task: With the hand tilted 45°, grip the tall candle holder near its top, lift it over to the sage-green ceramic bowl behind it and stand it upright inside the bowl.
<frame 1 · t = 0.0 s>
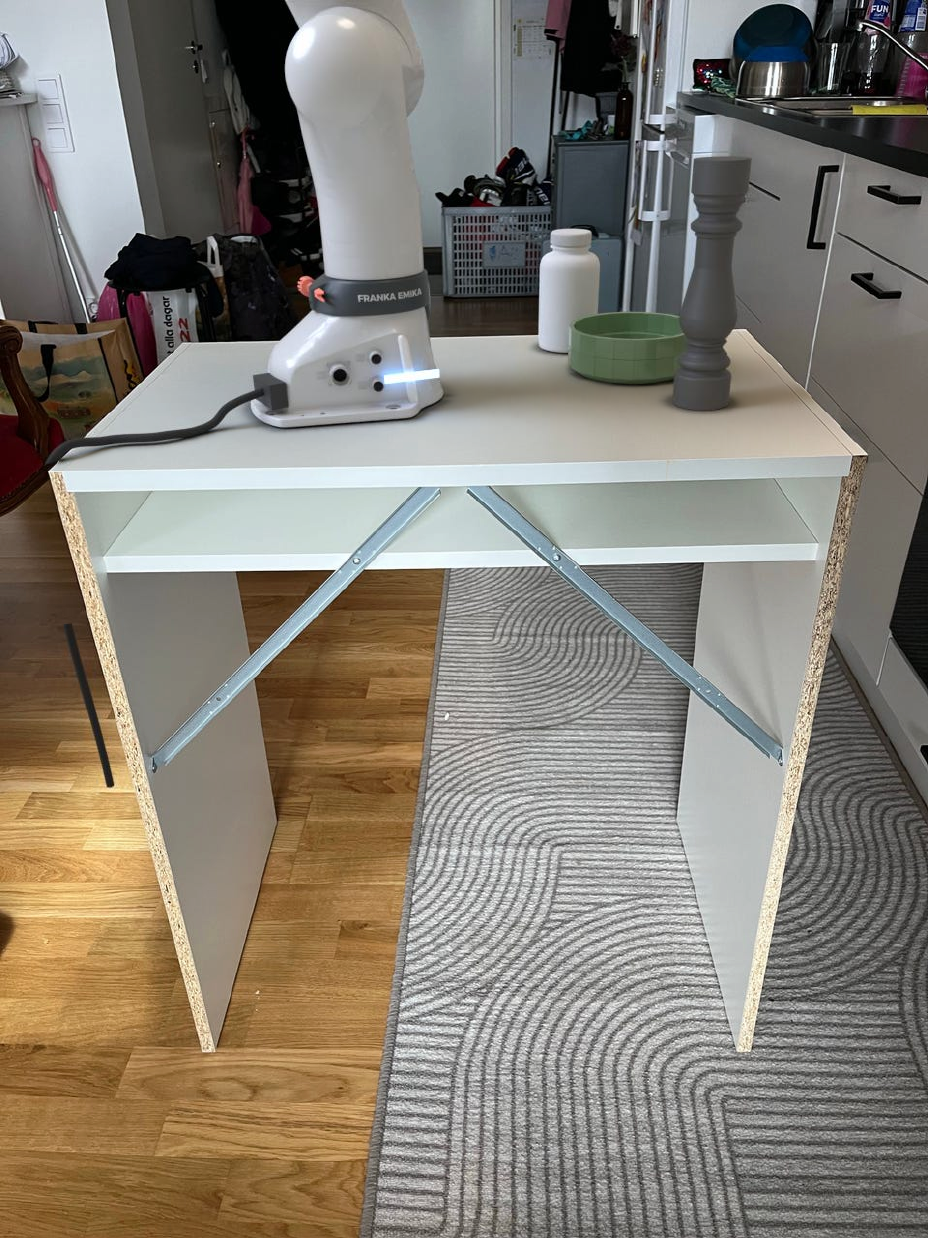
pill bottle: (567, 348, 134), on the table
bowl: (630, 369, 123), on the table
candle holder: (700, 404, 110), on the table
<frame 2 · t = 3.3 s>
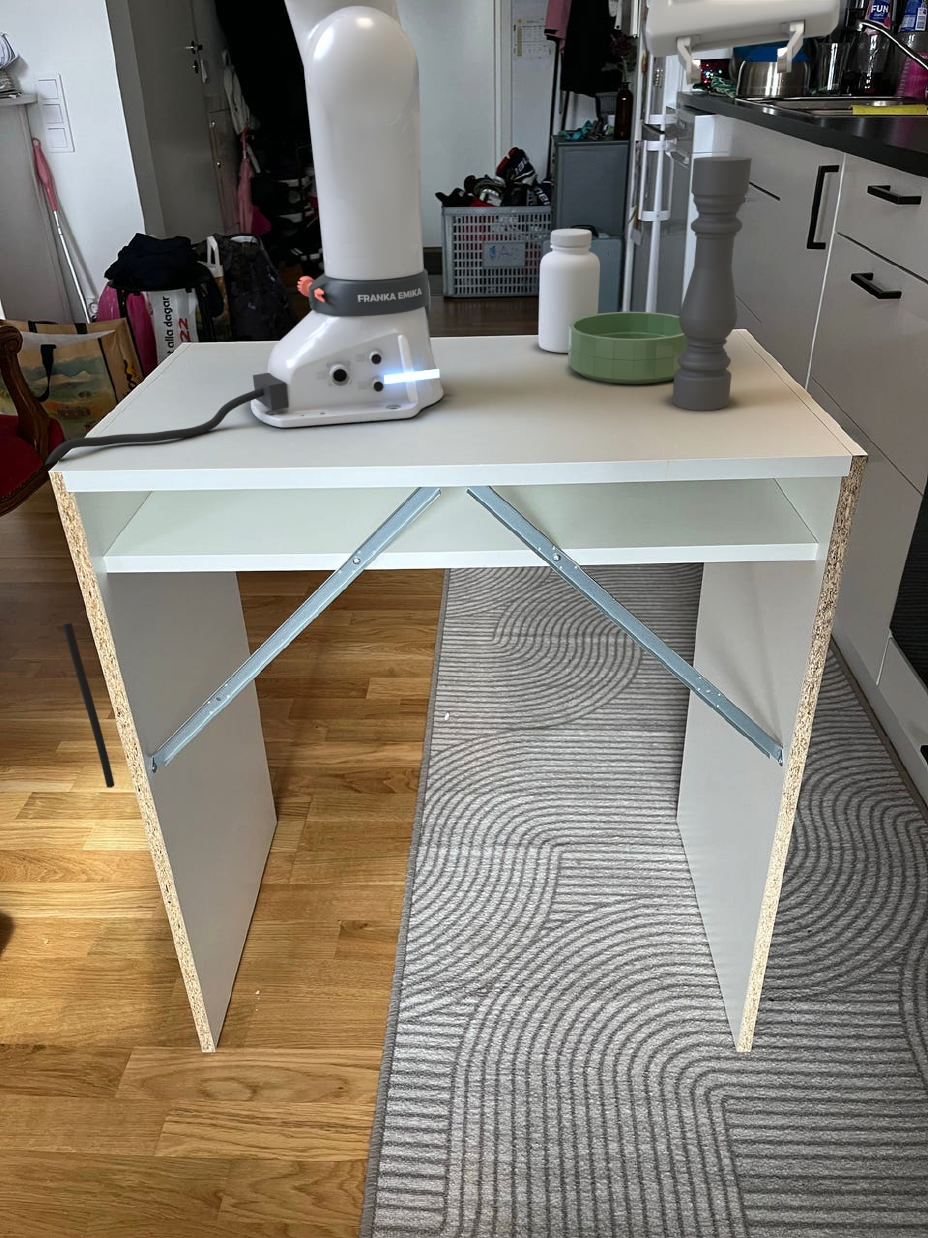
hand: (738, 74, 105), 32 cm above the table, tool tilted 40°, fingers open, 8 cm apart
nothing on the table moved.
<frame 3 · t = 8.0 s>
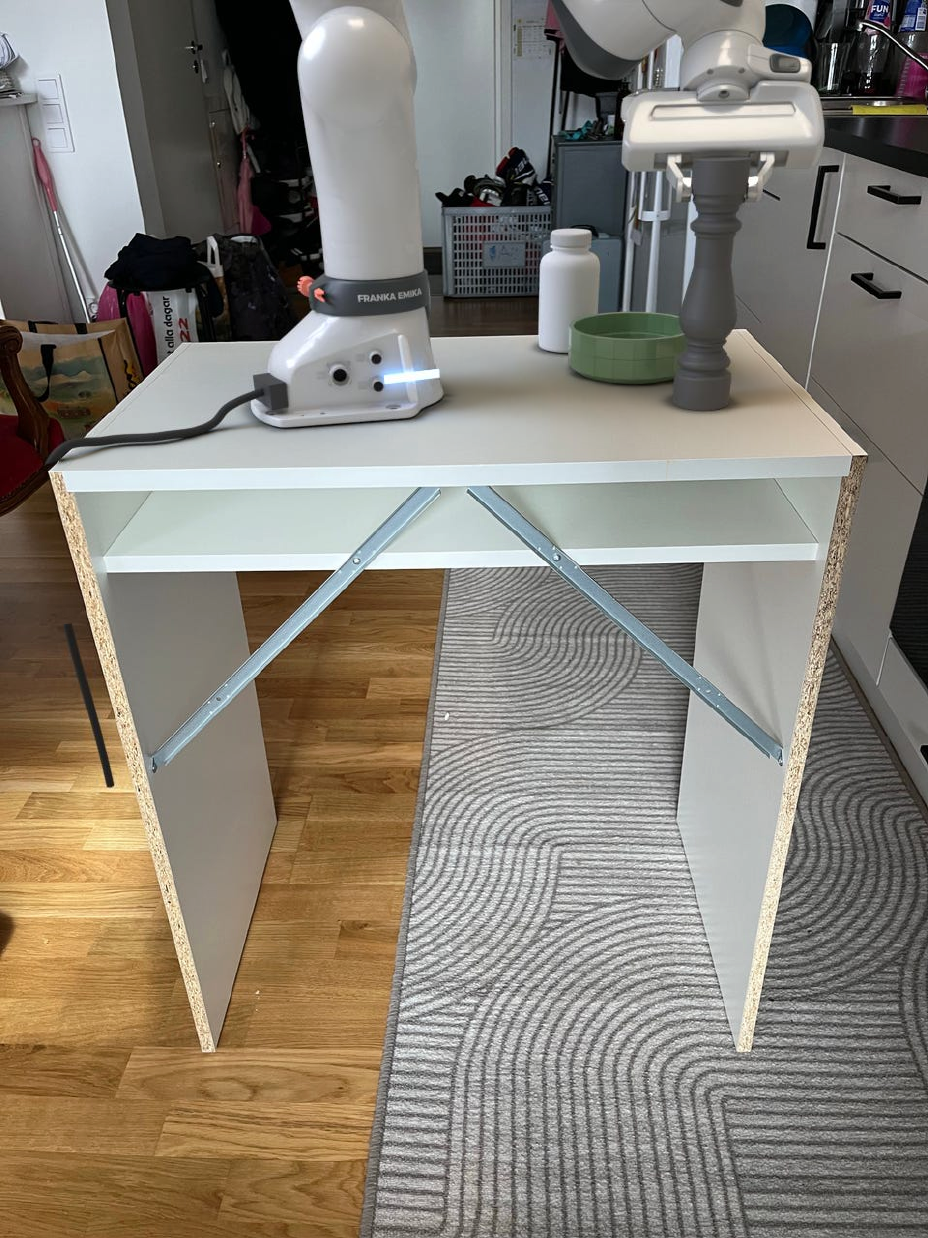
hand: (719, 197, 99), 21 cm above the table, tool tilted 45°, fingers closed on candle holder, 5 cm apart
candle holder: (700, 404, 110), on the table, touching gripper
everything else where it was.
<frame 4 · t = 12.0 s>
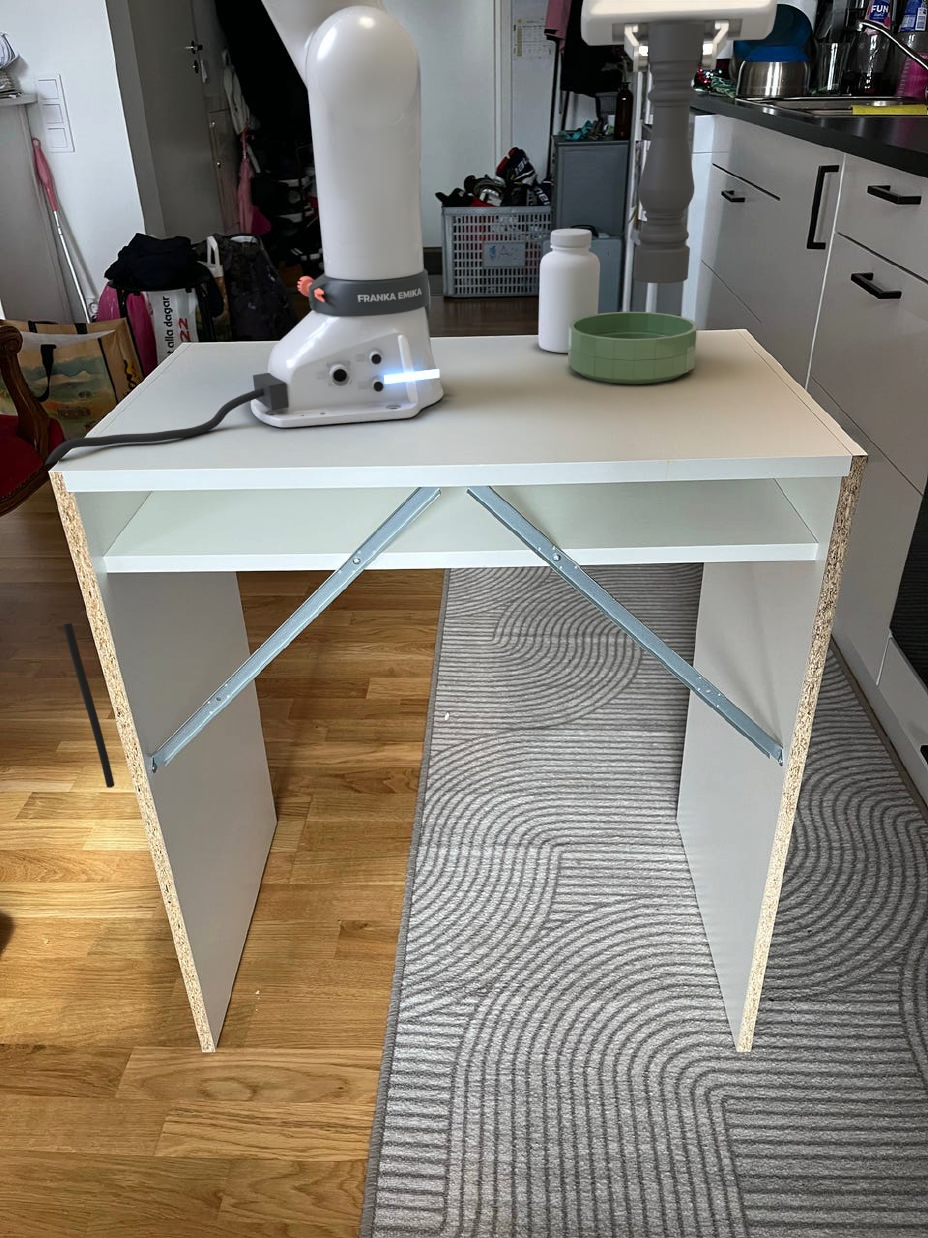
hand: (674, 65, 102), 33 cm above the table, tool tilted 45°, fingers closed on candle holder, 5 cm apart
candle holder: (660, 280, 113), point 12 cm above the table, touching gripper
everything else where it was.
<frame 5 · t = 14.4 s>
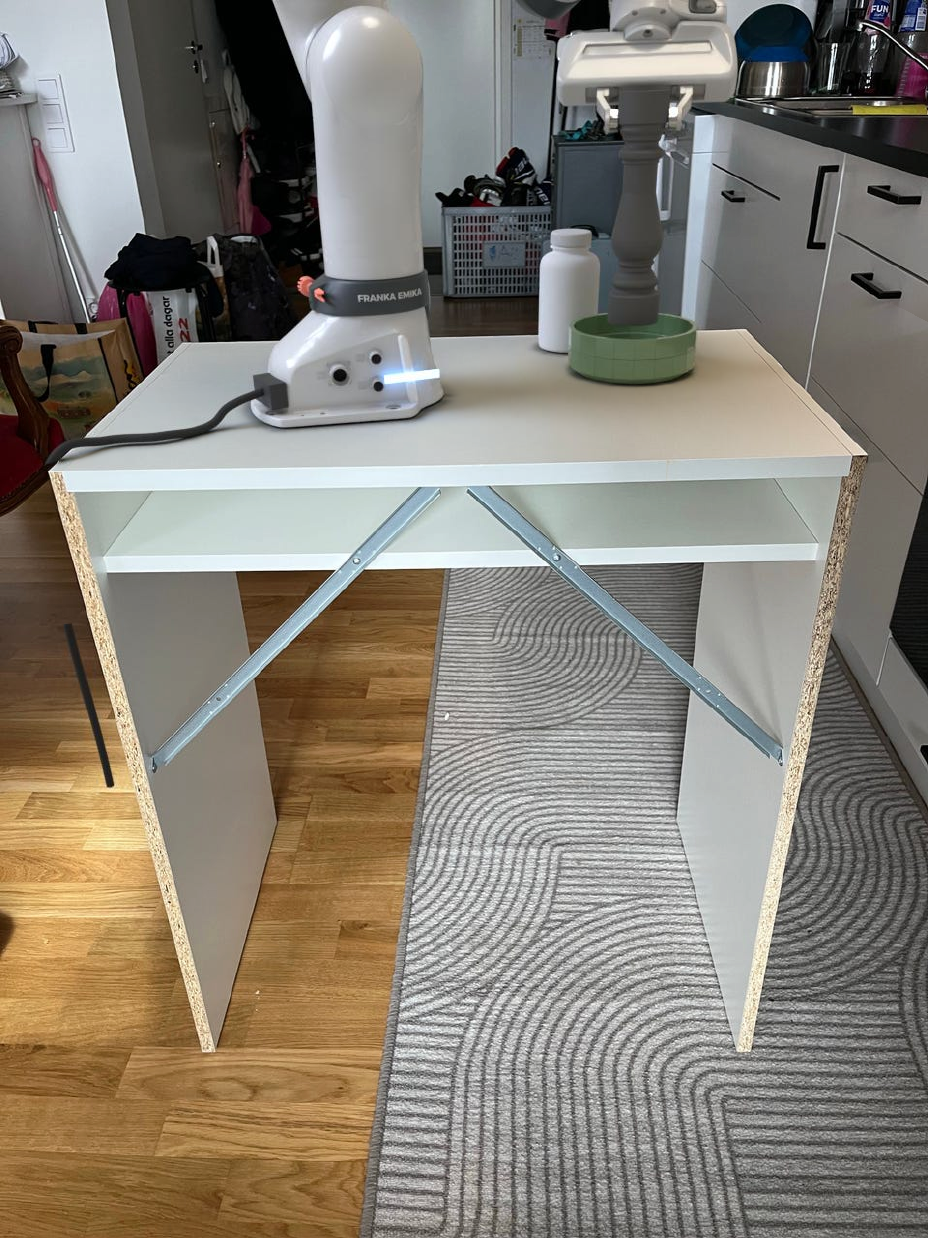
hand: (643, 127, 110), 27 cm above the table, tool tilted 45°, fingers closed on candle holder, 5 cm apart
candle holder: (632, 322, 121), point 6 cm above the table, touching gripper
everything else where it was.
when the fingers open (22 cm above the table, at t = 16.4 s): candle holder stays where it is, resting on bowl.
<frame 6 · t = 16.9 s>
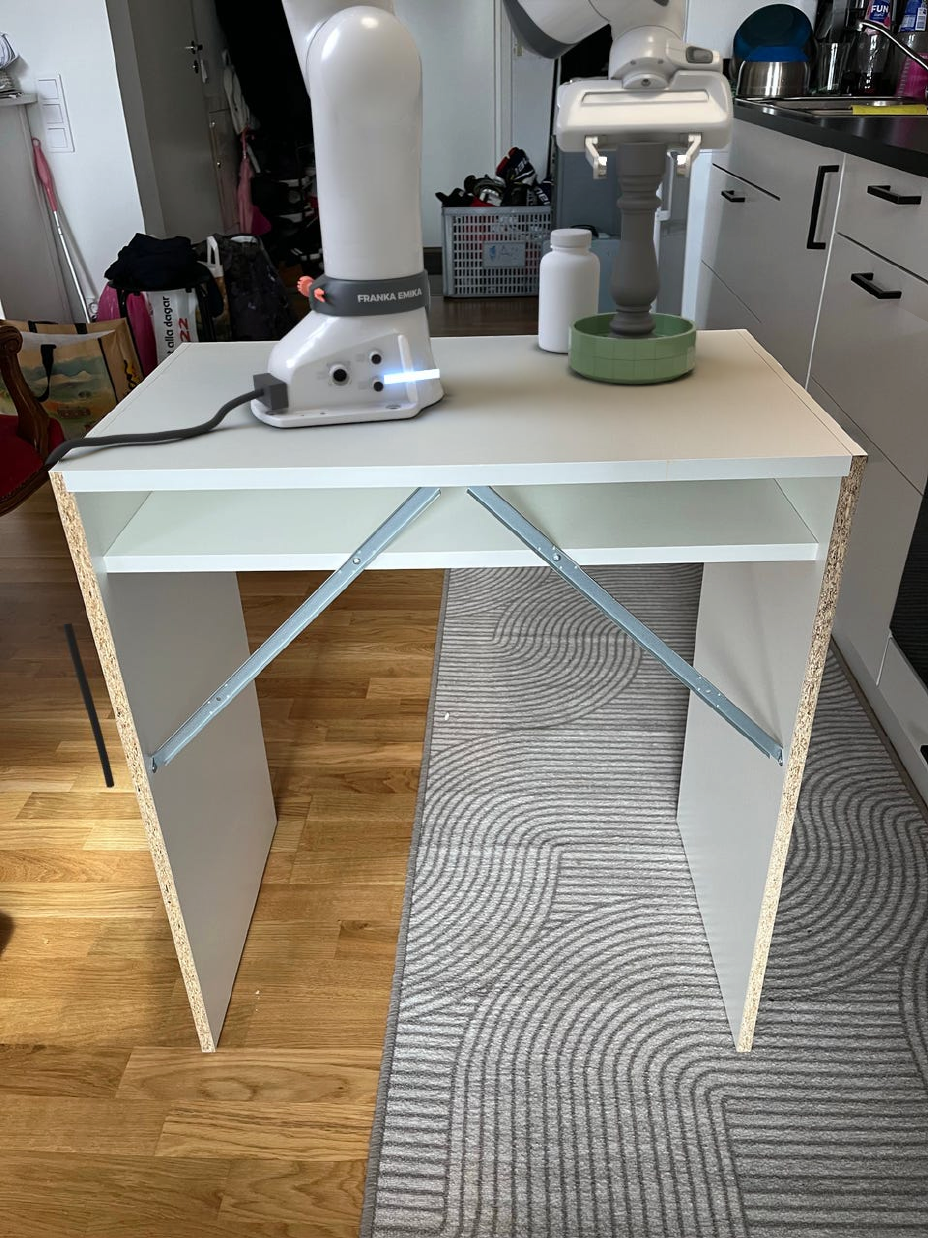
hand: (641, 174, 112), 23 cm above the table, tool tilted 45°, fingers open, 8 cm apart
candle holder: (630, 364, 123), point 1 cm above the table, touching bowl
everything else where it was.
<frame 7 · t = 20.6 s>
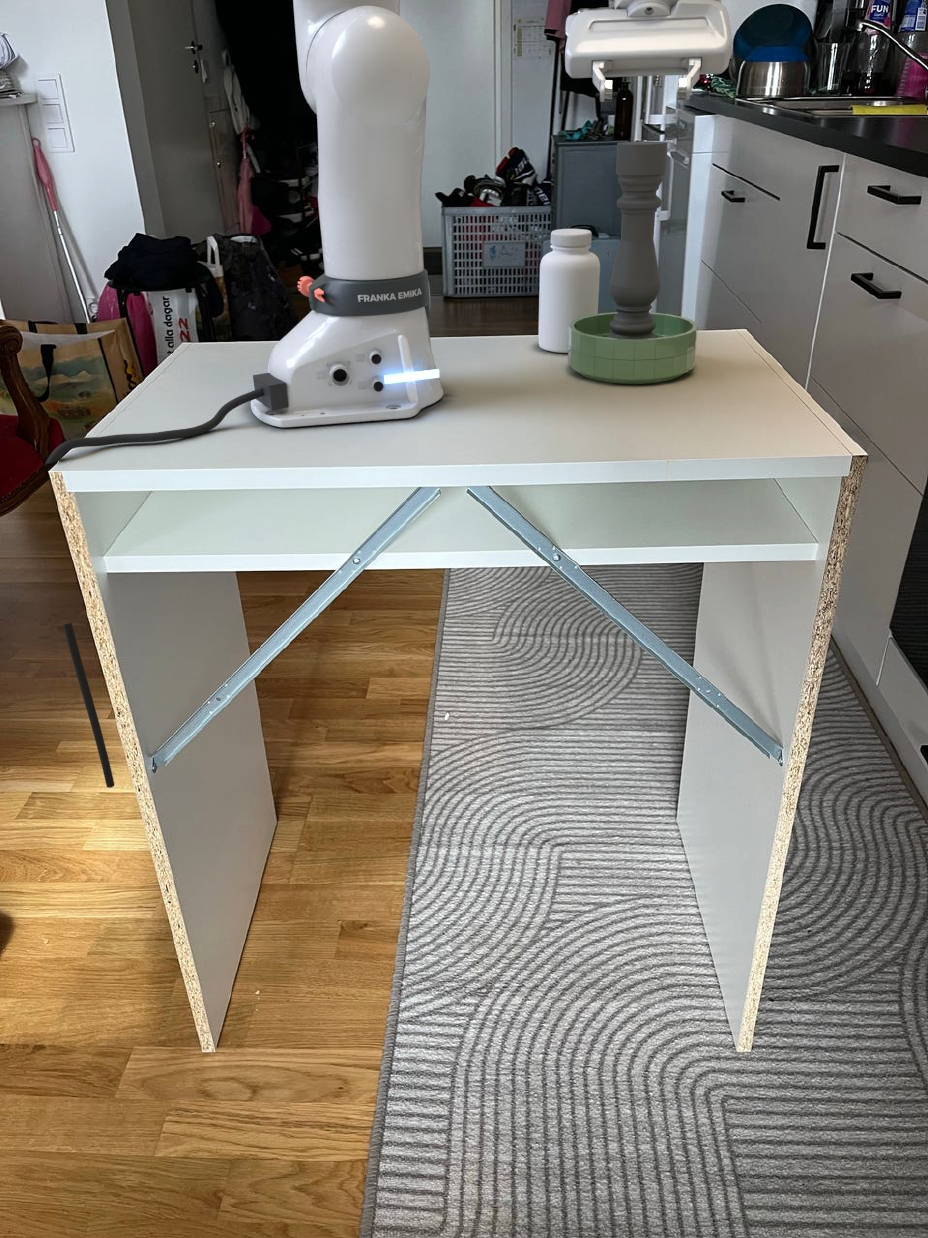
hand: (644, 96, 119), 30 cm above the table, tool tilted 45°, fingers open, 8 cm apart
nothing on the table moved.
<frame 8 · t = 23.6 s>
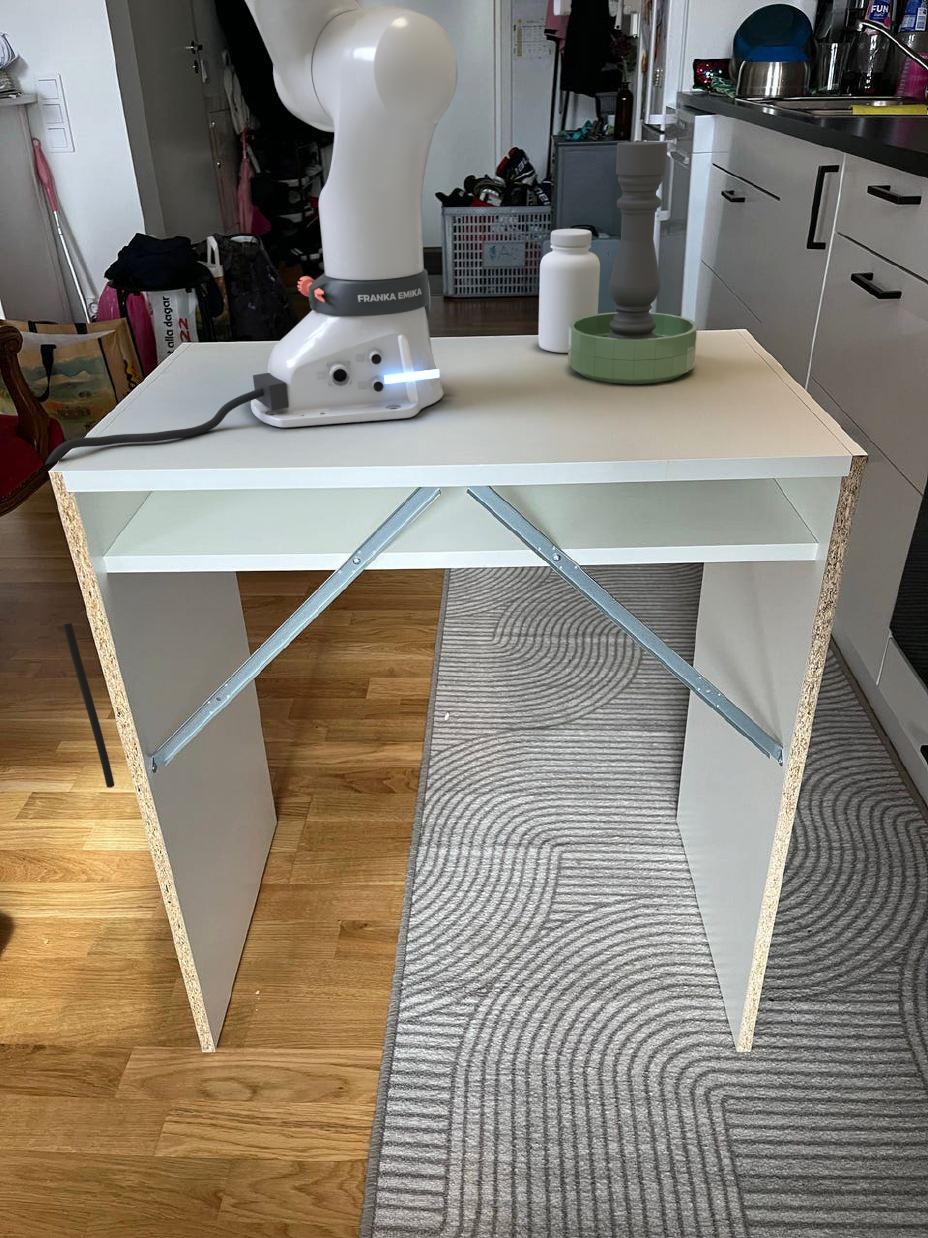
hand: (597, 14, 118), 39 cm above the table, tool pointing down, fingers open, 8 cm apart
nothing on the table moved.
at the end: candle holder inside the target area in the bowl (0.1 cm from its centre), point 0.6 cm above the bowl's base; candle holder tilted 0°; the gripper is holding nothing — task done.
